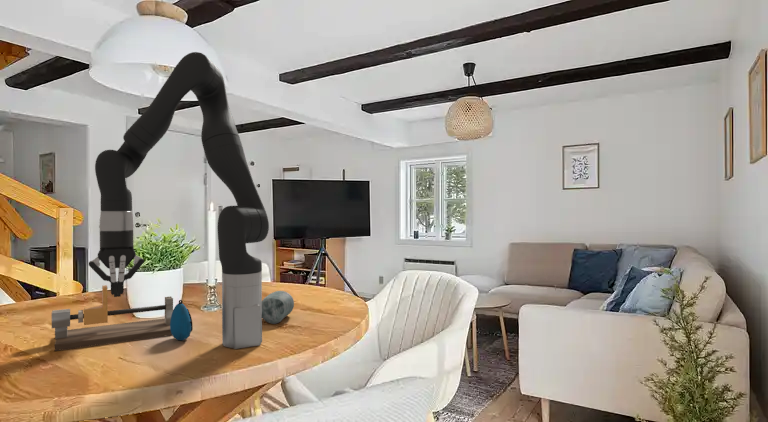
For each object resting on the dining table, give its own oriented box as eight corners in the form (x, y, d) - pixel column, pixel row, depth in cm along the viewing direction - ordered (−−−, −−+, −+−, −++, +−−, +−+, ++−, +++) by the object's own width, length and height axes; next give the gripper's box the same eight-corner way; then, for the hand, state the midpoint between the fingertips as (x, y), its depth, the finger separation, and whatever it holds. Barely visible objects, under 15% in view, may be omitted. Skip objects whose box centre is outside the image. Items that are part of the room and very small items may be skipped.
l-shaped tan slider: (107, 322, 117) (107, 287, 117) (83, 325, 114) (83, 289, 114) (107, 319, 120) (106, 285, 120) (83, 322, 118) (83, 287, 117)
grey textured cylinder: (288, 315, 128) (275, 282, 131) (257, 330, 129) (246, 297, 132) (306, 316, 141) (294, 286, 144) (278, 329, 142) (267, 299, 145)
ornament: (196, 341, 114) (196, 301, 114) (177, 345, 111) (176, 303, 111) (185, 334, 121) (185, 296, 121) (166, 338, 118) (166, 298, 117)
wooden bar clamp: (177, 334, 121) (177, 301, 121) (50, 351, 107) (50, 314, 107) (169, 323, 133) (169, 293, 133) (53, 337, 118) (53, 303, 118)
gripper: (86, 230, 113) (86, 301, 113) (147, 228, 120) (147, 296, 120) (86, 229, 119) (86, 296, 120) (144, 227, 126) (144, 291, 127)
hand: (117, 296), depth 120 cm, fingers closed
